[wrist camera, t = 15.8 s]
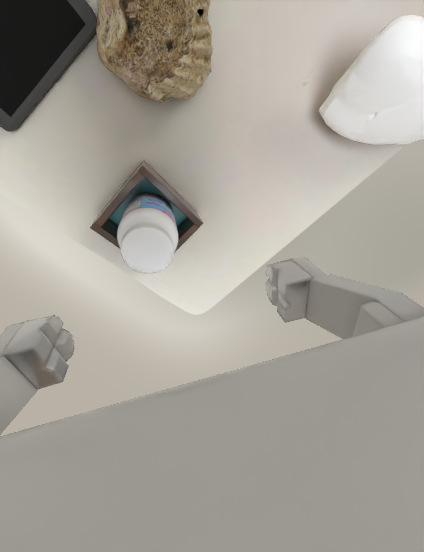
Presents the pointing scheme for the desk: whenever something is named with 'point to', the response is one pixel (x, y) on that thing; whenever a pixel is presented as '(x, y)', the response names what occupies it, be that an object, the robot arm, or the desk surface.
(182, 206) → the brown wooden box
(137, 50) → the seashell
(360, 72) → the fish
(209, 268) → the desk surface
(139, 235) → the pill bottle
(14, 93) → the cell phone
